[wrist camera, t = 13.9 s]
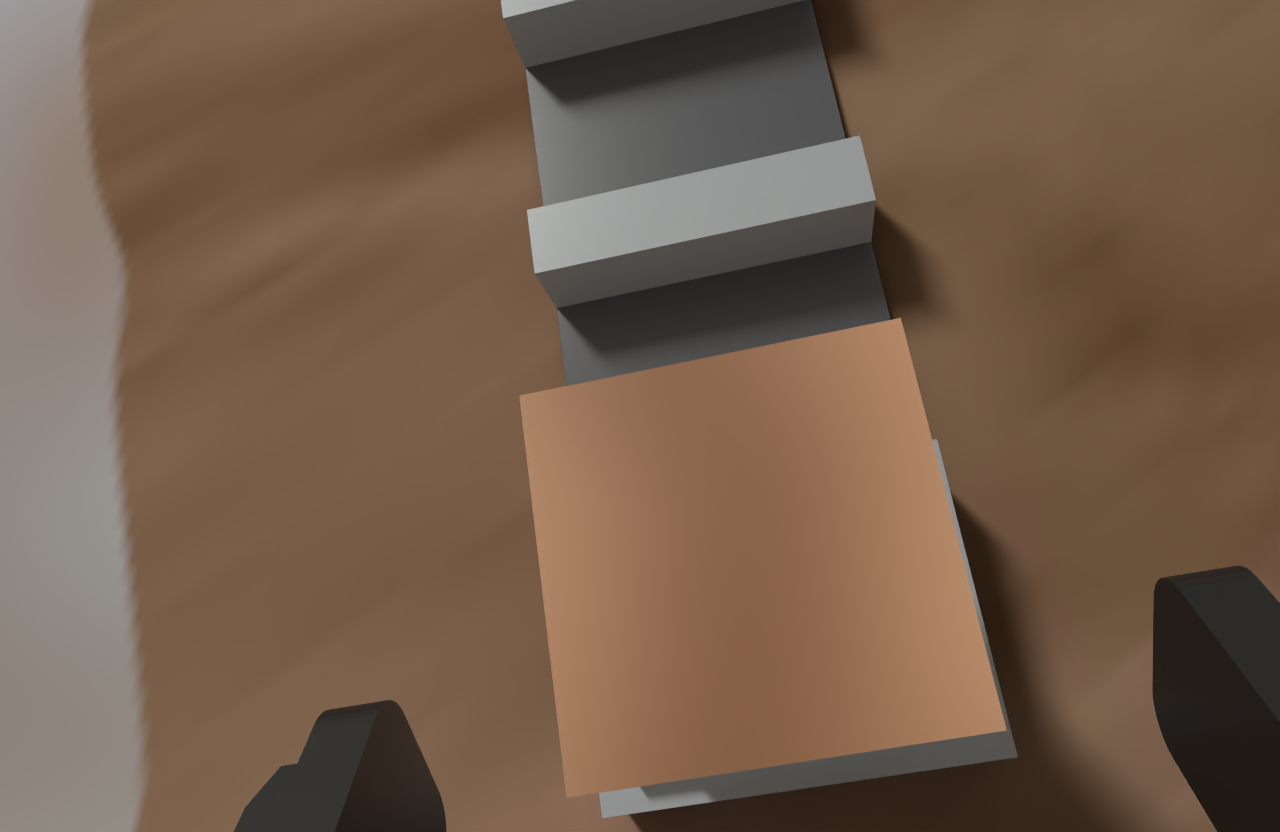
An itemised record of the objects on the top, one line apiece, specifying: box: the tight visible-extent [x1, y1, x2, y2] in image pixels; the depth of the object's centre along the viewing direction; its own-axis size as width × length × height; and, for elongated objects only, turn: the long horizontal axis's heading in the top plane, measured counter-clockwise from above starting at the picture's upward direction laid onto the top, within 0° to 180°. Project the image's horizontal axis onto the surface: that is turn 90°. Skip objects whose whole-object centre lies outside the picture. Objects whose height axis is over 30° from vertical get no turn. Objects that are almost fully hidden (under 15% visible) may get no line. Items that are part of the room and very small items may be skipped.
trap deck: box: [501, 0, 1018, 818], centre depth 21 cm, size 7×22×2 cm, turn 8°
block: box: [520, 318, 1007, 798], centre depth 13 cm, size 4×4×8 cm
